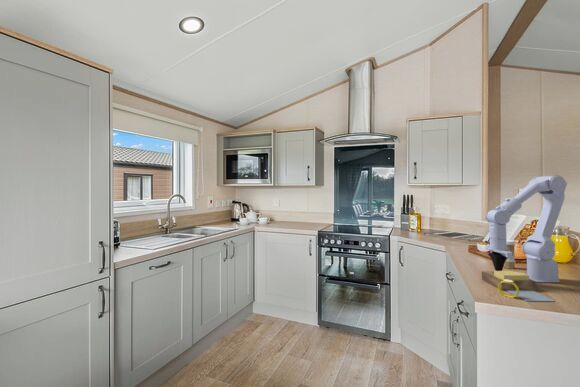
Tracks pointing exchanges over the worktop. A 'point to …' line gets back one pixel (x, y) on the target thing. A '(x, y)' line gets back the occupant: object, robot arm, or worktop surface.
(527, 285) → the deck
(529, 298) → the mat
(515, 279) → the yellow butter block
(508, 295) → the watch
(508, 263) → the sprinkles bottle
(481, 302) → the worktop surface
